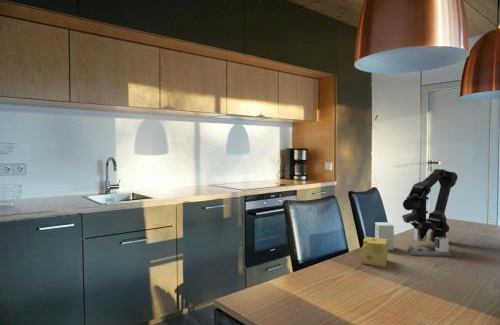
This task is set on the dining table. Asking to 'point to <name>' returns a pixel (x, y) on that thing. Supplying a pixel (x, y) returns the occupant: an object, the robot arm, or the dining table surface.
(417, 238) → the block
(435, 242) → the rail
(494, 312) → the dining table surface
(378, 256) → the cheese
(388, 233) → the supplement box
